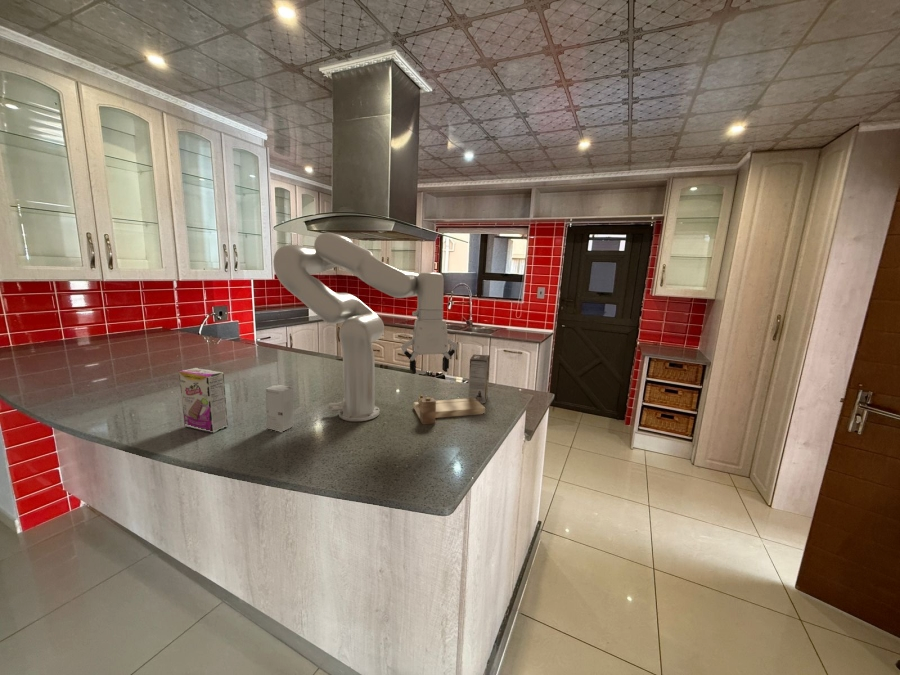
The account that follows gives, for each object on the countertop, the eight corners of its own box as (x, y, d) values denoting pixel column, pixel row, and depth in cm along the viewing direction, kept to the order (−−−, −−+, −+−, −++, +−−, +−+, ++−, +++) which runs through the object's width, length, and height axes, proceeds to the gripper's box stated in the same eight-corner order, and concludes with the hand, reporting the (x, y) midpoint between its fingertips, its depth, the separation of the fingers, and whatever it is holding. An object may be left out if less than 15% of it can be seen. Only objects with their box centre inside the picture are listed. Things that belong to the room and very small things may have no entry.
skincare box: (265, 429, 97) (263, 388, 95) (278, 423, 101) (275, 384, 99) (283, 433, 95) (281, 391, 93) (295, 427, 100) (293, 386, 98)
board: (419, 419, 108) (419, 412, 108) (413, 407, 117) (413, 402, 117) (485, 413, 114) (485, 407, 114) (474, 403, 124) (474, 397, 123)
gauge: (422, 424, 104) (422, 400, 103) (414, 409, 116) (415, 388, 115) (435, 423, 105) (435, 399, 104) (426, 408, 117) (426, 387, 116)
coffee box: (471, 394, 133) (473, 353, 131) (487, 396, 132) (489, 355, 130) (467, 402, 124) (469, 359, 122) (485, 404, 123) (487, 360, 121)
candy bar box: (183, 427, 97) (177, 371, 94) (200, 421, 101) (196, 367, 99) (211, 434, 93) (207, 375, 91) (229, 427, 98) (224, 371, 95)
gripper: (402, 316, 95) (402, 376, 98) (462, 316, 100) (460, 373, 103) (398, 314, 102) (398, 370, 105) (454, 314, 107) (453, 367, 110)
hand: (429, 371), depth 104 cm, fingers open, 9 cm apart
